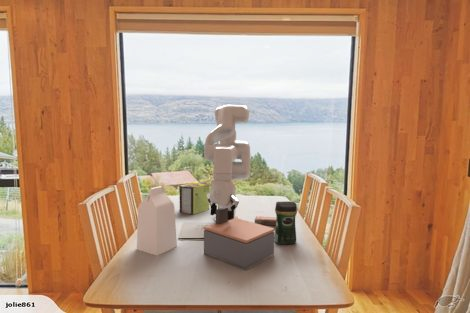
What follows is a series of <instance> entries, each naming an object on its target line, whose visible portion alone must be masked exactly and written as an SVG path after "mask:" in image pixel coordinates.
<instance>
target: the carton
mask: <svg viewBox="0 0 470 313" xmlns="http://www.w3.org/2000/svg"><path fill="white" fill-rule="evenodd" d="M274 237H275V231H274V232H271V233H269V234H267V235H264V236H262V237H260V238H257V239H255V240H253V241H250V242H248V243H244V242H241V241H238V240H235V239H232V238H229V237H226V236H223V235H220V234H217V233H214V232H211V231H208V230H205V229H203V254H204V255H205V256H208V257H210V258H213V259H216V260H217V261H218V260H219V261H221V262H224V263H226V264H229V265H231V266H233V267H237V268H239V269H241V270H244V271H248V270H250V269H251V268H253V267H255V266H257V265H259V264H260V263H262V262H265V261H266V260H268V259H271V258H272V257H274V255H275V240H274Z"/></svg>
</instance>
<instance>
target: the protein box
mask: <svg viewBox="0 0 470 313" xmlns="http://www.w3.org/2000/svg"><path fill="white" fill-rule="evenodd" d="M210 188H211V183H209V182H208V183H207V182H202V181H193V182H189V183H185V184H181V185H179V212H180V213H184V214H188V215H192V216H194V215H196V214H199V213H202V212H204V211H208V210H210V205H209V204H210V203H209V201H208V198H207V194H208V193H210Z"/></svg>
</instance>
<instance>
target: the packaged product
mask: <svg viewBox="0 0 470 313" xmlns="http://www.w3.org/2000/svg"><path fill="white" fill-rule="evenodd" d="M254 223H256V224H260V225H263V226H267V227H271V228H274V229H275V228H276V217H273V216H272V217H271V216H255V218H254Z"/></svg>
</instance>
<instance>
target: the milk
mask: <svg viewBox="0 0 470 313" xmlns="http://www.w3.org/2000/svg"><path fill="white" fill-rule="evenodd" d="M137 208H138V209H137V228H136V229H137V232H136V233H137V234H136V250H138V251H141V252H144V253H148V254H150V255H154V256H160V255H161V254H163V253H165V252H168V251H169V250H172V249H174V248H176V247H178V244H177V241H178V240H177V228H176V211H175V209H176V208H175V203H174V202H173V201H172V199H171V198H170V197H169V196H168V195H167V194H166V193H165V190H164V187H163V185H162V186H160V185H159V186H156V187H151V188H149V190H148V194H147V196H146V197H144V199H143V200H142V201H141V202H140V203H139V204H138V207H137Z"/></svg>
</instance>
